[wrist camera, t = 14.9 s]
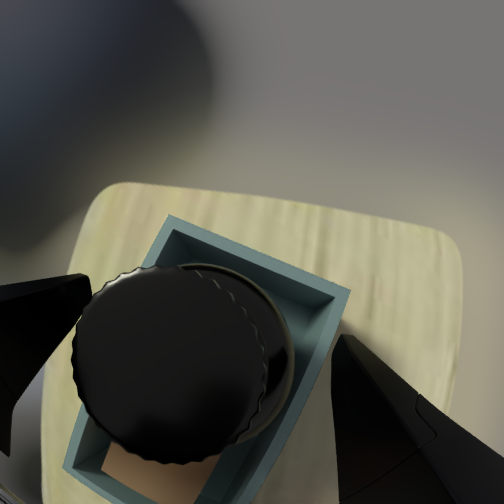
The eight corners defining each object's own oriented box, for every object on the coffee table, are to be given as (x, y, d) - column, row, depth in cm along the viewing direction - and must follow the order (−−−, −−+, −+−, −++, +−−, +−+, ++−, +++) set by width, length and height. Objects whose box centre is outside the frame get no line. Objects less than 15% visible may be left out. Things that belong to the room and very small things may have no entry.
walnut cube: (201, 479, 14) (186, 515, 10) (134, 444, 15) (100, 469, 10) (231, 422, 16) (224, 449, 11) (159, 387, 16) (128, 400, 12)
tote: (225, 506, 14) (217, 550, 9) (103, 445, 15) (62, 468, 10) (323, 305, 18) (351, 290, 13) (190, 248, 20) (168, 214, 14)
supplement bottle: (279, 296, 18) (319, 221, 6) (278, 404, 16) (314, 507, 5) (171, 294, 18) (56, 225, 7) (168, 399, 16) (52, 466, 5)
